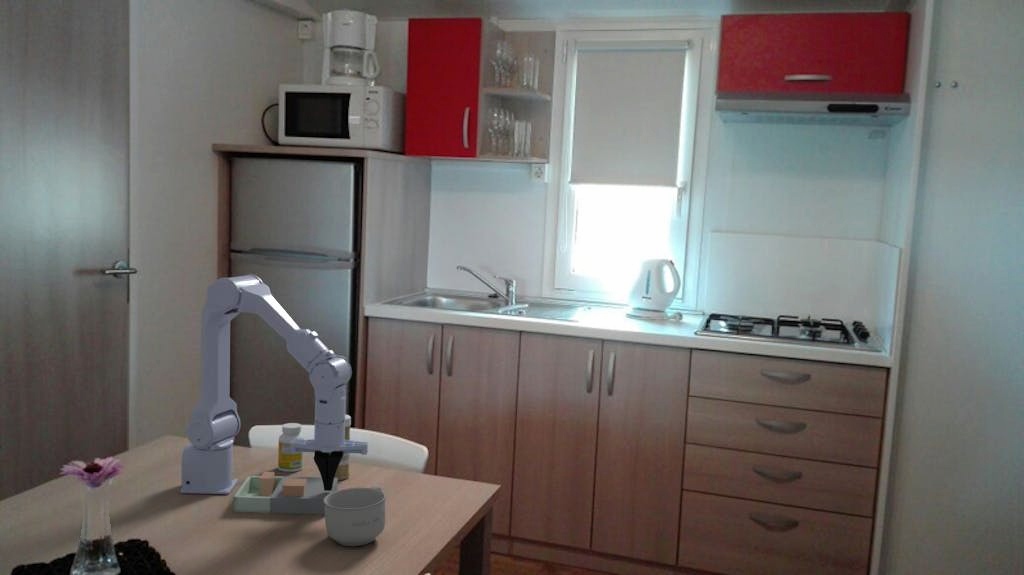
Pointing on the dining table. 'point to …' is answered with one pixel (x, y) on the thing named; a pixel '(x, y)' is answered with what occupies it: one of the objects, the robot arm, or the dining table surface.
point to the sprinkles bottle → (344, 463)
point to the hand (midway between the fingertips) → (328, 488)
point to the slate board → (302, 498)
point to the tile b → (294, 487)
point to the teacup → (355, 515)
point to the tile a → (266, 484)
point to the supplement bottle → (285, 458)
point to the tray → (252, 497)
